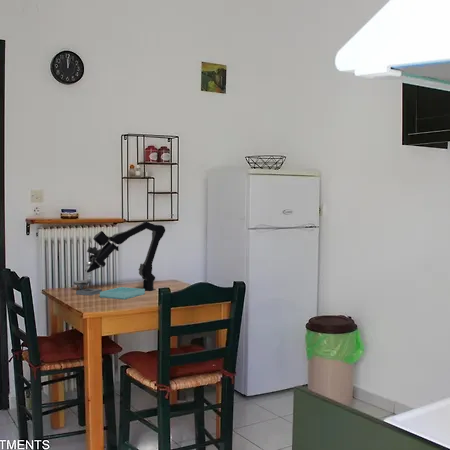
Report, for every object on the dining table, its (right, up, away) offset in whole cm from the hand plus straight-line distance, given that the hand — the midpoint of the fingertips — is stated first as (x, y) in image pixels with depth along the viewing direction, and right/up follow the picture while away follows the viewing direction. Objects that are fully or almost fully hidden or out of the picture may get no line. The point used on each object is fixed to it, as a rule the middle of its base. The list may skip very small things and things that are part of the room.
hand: (86, 271), depth 321 cm
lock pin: (+1, -7, +1) cm, 7 cm away
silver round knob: (-7, -12, +15) cm, 21 cm away
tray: (+21, -13, -5) cm, 25 cm away
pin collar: (+1, -12, +1) cm, 13 cm away
